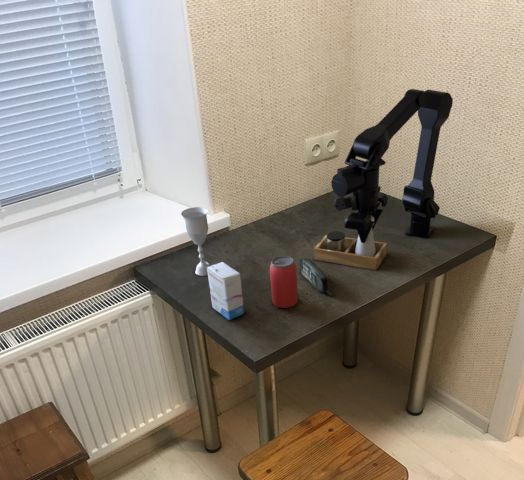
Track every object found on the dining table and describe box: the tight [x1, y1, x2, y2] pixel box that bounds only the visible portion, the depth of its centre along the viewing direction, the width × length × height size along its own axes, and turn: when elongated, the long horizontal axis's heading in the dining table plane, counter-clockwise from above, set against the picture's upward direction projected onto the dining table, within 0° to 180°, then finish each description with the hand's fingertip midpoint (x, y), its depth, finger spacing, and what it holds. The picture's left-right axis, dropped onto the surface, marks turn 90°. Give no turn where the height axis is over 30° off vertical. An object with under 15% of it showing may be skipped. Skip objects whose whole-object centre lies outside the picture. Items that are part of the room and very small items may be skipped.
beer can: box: [269, 255, 299, 309], centre depth 142 cm, size 7×7×12 cm
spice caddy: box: [313, 233, 388, 271], centre depth 161 cm, size 10×18×4 cm, turn 63°
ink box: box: [207, 261, 245, 321], centre depth 141 cm, size 9×5×12 cm, turn 35°
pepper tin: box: [326, 230, 346, 252], centre depth 162 cm, size 5×5×6 cm
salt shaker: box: [354, 215, 377, 257], centre depth 156 cm, size 6×6×13 cm
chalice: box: [180, 206, 211, 277], centre depth 156 cm, size 7×7×18 cm
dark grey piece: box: [299, 257, 333, 296], centre depth 150 cm, size 5×3×15 cm
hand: (365, 239), depth 156 cm, fingers open, 4 cm apart
